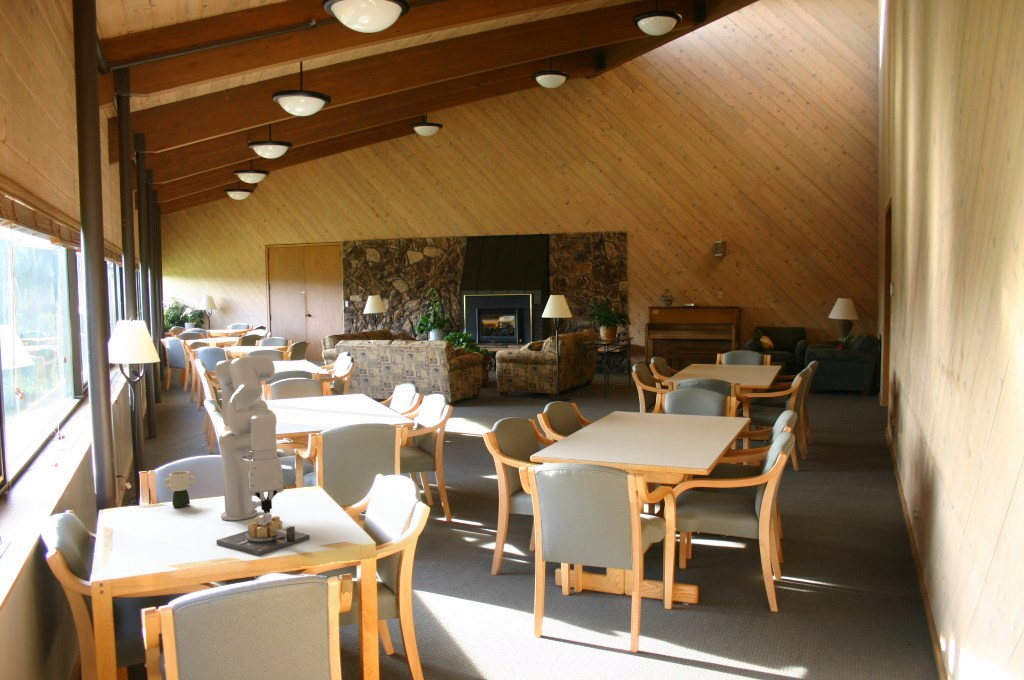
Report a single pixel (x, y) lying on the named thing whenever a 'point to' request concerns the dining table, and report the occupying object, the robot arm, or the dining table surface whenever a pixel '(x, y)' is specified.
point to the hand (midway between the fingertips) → (266, 511)
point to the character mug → (180, 487)
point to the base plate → (260, 540)
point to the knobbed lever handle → (271, 529)
